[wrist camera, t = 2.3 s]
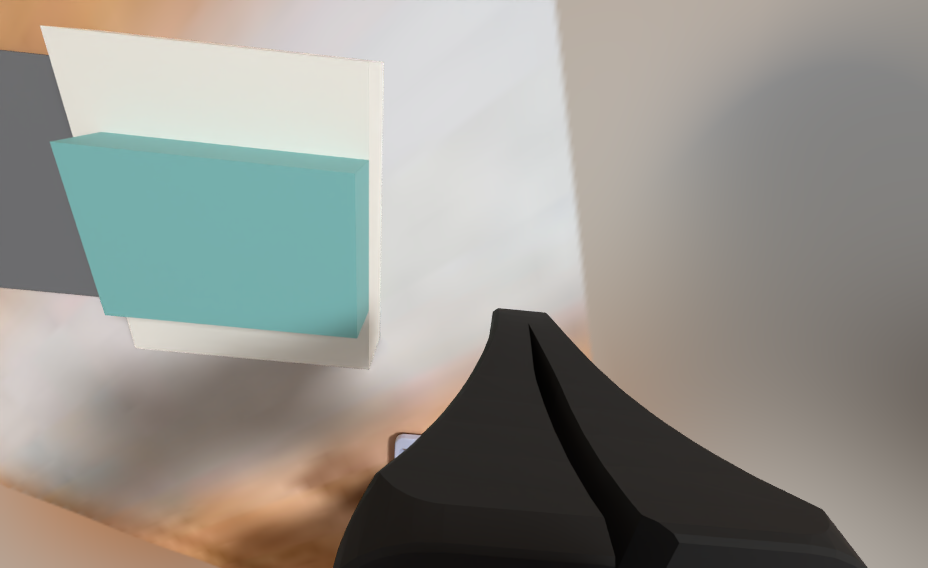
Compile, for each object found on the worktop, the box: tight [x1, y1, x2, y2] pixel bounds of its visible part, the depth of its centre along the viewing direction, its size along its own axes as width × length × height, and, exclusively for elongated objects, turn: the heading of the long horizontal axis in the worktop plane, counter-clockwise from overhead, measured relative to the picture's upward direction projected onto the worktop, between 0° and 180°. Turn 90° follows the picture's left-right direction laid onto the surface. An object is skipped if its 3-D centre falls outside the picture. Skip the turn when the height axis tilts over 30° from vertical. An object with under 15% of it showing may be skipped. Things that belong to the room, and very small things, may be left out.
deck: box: [40, 25, 384, 370], centre depth 17 cm, size 12×10×2 cm
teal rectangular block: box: [50, 132, 369, 339], centre depth 15 cm, size 6×9×2 cm, turn 84°
